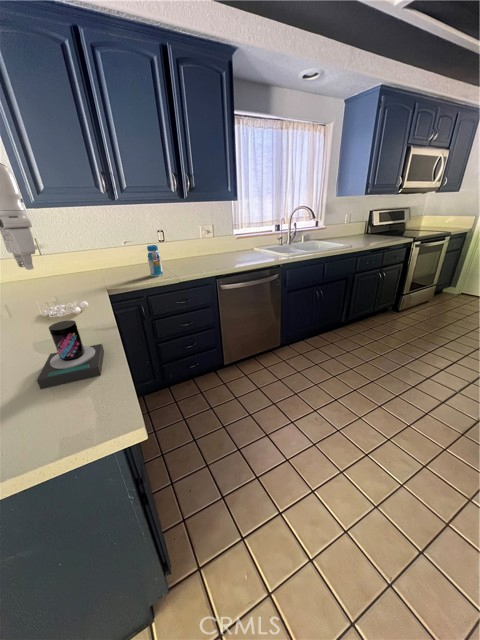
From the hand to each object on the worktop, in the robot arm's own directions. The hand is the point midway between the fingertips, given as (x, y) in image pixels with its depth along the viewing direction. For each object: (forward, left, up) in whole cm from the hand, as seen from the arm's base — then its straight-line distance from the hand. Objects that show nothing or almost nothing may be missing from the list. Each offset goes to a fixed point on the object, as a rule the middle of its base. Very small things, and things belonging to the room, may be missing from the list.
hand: (26, 268), depth 84 cm
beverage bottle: (+45, +87, -28) cm, 102 cm away
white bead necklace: (-2, +33, -28) cm, 43 cm away
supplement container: (+10, -19, -25) cm, 33 cm away
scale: (+10, -21, -28) cm, 36 cm away
